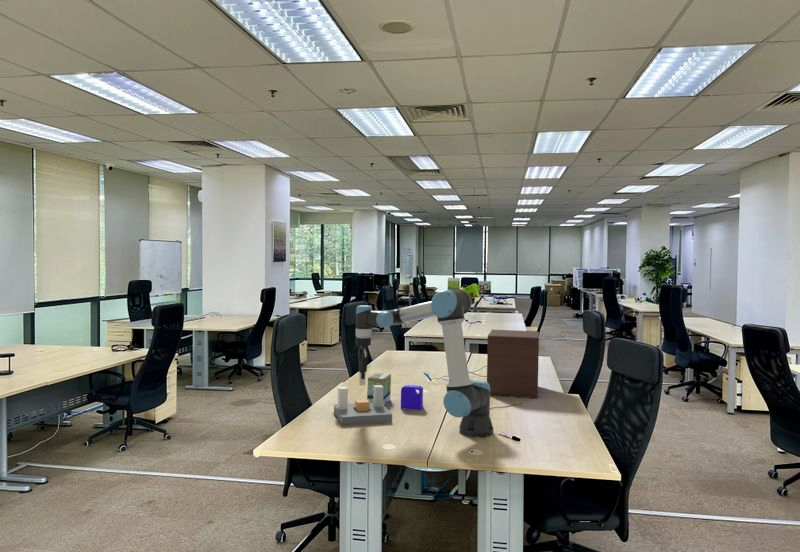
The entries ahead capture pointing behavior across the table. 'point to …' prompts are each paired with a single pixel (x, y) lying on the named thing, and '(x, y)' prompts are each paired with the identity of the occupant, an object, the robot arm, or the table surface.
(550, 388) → the table surface
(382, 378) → the tea box
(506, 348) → the storage cube
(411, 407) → the bracket
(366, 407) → the button
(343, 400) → the block
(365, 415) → the panel
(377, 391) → the light grey tall block
